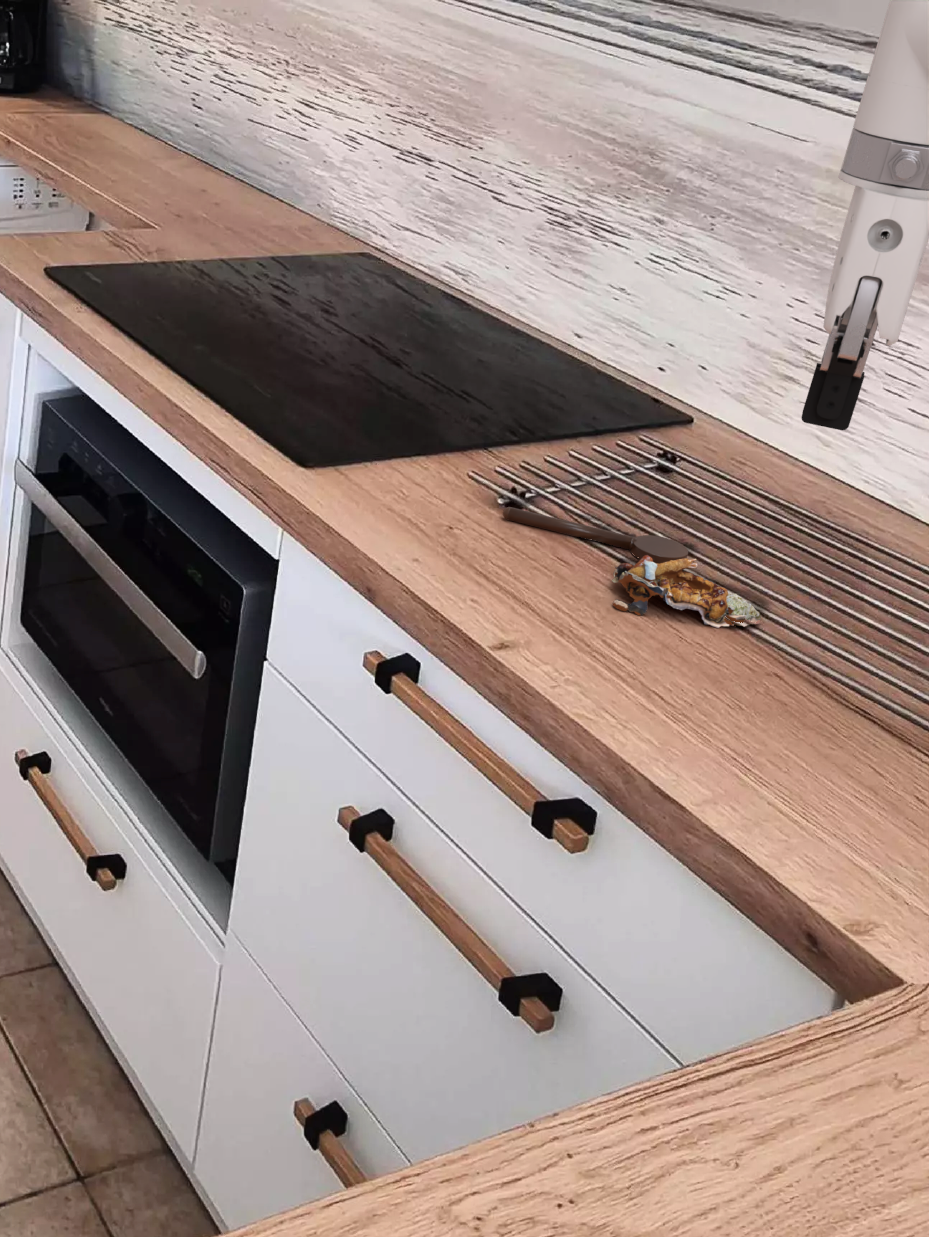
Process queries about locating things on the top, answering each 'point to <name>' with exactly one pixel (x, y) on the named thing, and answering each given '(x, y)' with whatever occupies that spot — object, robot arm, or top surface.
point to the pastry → (680, 591)
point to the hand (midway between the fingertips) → (824, 422)
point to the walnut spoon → (604, 536)
